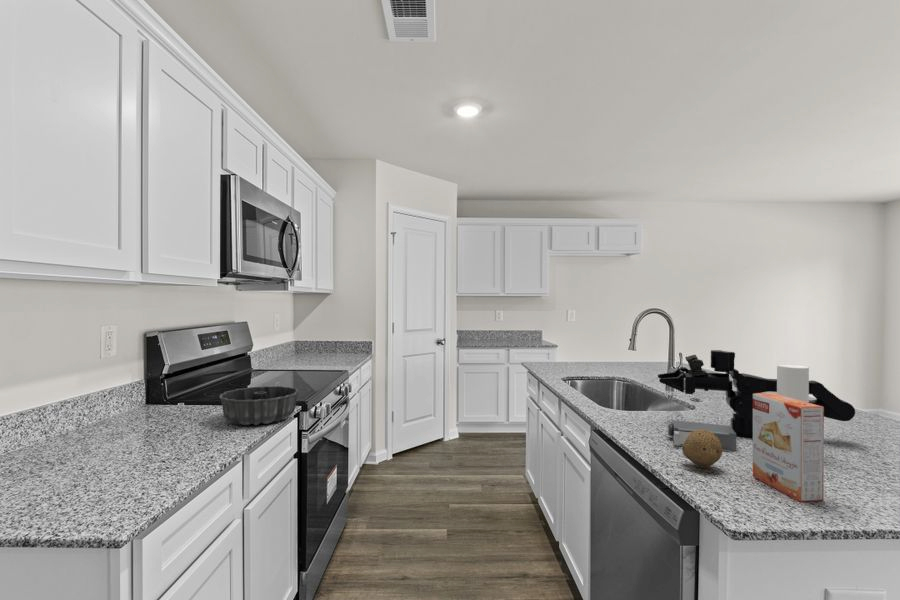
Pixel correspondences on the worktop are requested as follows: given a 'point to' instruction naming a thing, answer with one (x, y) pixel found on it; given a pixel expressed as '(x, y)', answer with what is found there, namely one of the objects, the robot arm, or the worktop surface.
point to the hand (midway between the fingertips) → (658, 378)
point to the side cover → (680, 437)
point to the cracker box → (789, 445)
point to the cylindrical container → (793, 381)
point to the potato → (702, 448)
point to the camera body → (720, 431)
